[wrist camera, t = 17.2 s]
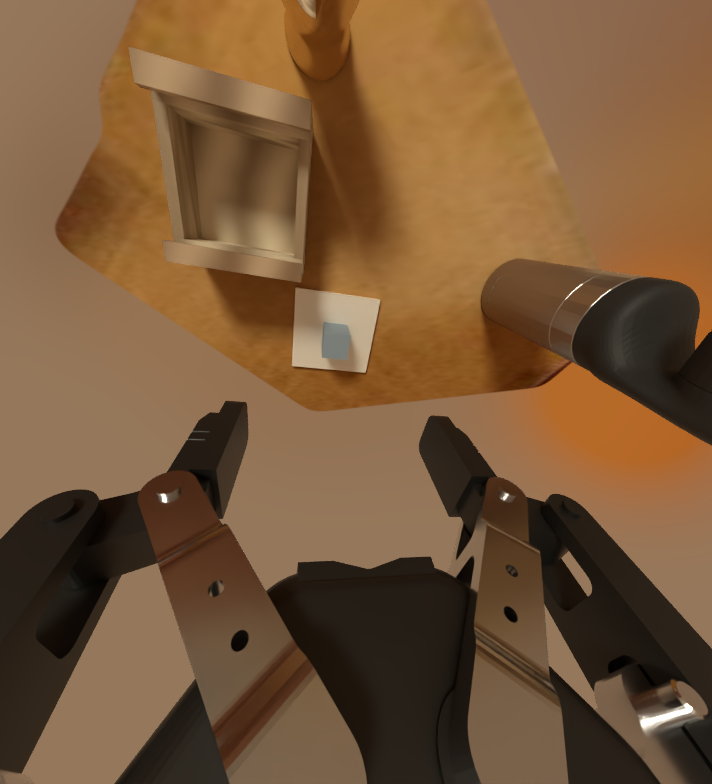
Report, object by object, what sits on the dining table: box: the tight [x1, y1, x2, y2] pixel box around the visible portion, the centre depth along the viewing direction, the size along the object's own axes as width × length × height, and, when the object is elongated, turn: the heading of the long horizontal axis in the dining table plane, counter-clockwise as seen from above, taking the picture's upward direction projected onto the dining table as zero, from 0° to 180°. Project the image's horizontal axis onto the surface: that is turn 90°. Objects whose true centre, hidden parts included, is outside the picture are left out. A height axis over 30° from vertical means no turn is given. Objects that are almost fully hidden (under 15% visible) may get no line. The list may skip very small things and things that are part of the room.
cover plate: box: [292, 287, 380, 373], centre depth 38 cm, size 12×12×6 cm
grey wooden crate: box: [128, 47, 313, 283], centre depth 27 cm, size 13×14×8 cm
